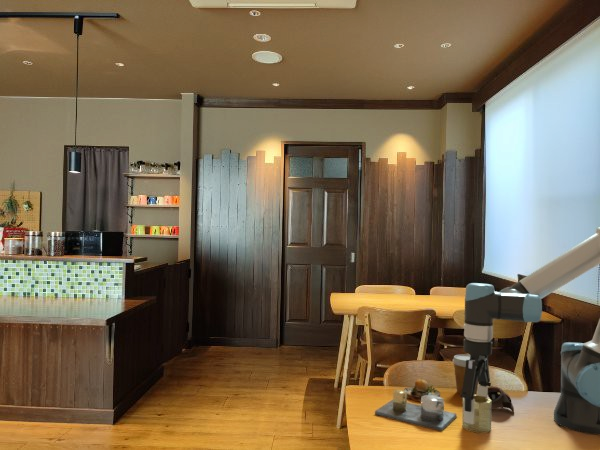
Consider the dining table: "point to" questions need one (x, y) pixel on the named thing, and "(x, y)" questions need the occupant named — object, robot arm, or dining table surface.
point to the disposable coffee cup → (461, 371)
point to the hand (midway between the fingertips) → (475, 415)
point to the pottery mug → (499, 398)
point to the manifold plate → (417, 411)
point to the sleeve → (480, 415)
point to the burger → (420, 390)
